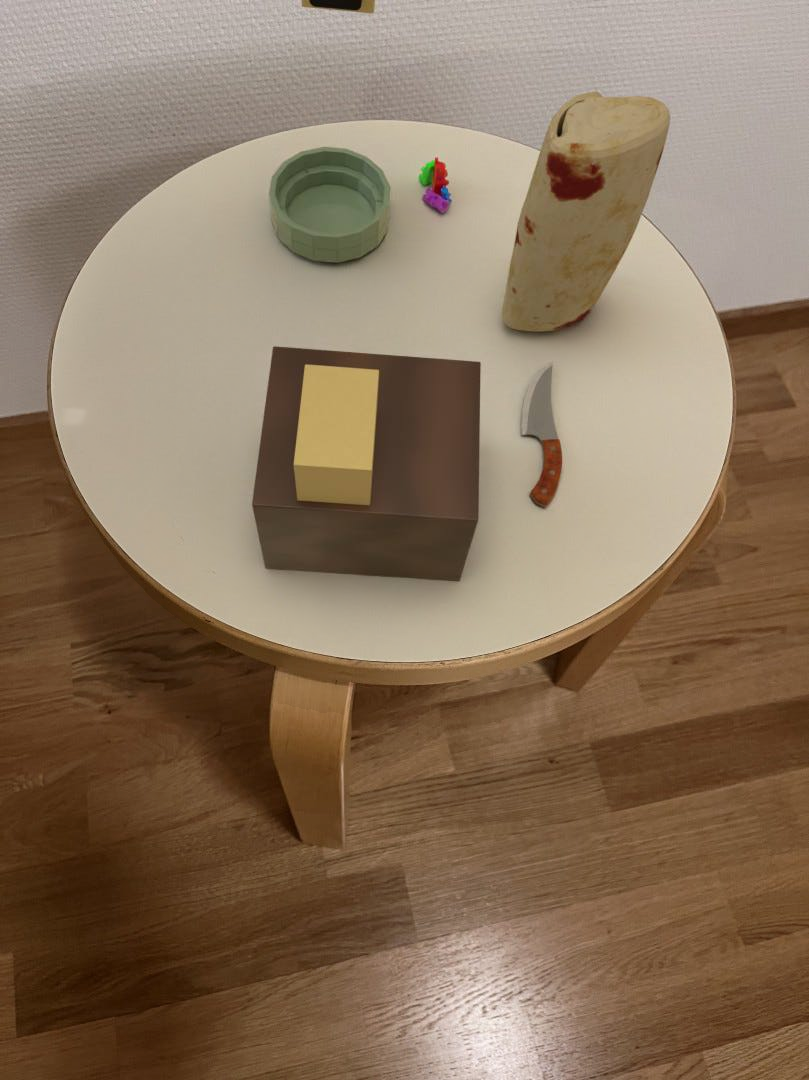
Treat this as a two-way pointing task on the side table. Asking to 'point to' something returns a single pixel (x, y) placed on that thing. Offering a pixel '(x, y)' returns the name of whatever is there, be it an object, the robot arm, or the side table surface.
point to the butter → (336, 435)
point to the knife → (543, 434)
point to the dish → (329, 204)
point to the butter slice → (366, 7)
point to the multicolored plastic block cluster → (436, 185)
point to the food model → (582, 207)
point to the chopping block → (377, 472)
